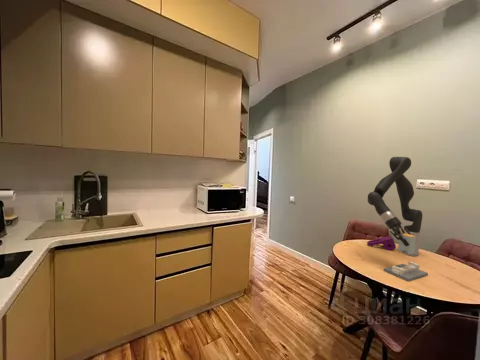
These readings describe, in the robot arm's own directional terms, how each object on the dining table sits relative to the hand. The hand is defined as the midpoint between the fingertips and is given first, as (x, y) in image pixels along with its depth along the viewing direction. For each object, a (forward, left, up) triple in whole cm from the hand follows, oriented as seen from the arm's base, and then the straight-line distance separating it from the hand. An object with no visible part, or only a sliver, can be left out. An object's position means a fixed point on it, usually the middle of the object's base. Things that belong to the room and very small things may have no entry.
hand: (410, 245), depth 124 cm
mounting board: (0, -1, -17) cm, 17 cm away
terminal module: (0, -2, -5) cm, 5 cm away
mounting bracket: (-26, -41, -18) cm, 51 cm away
